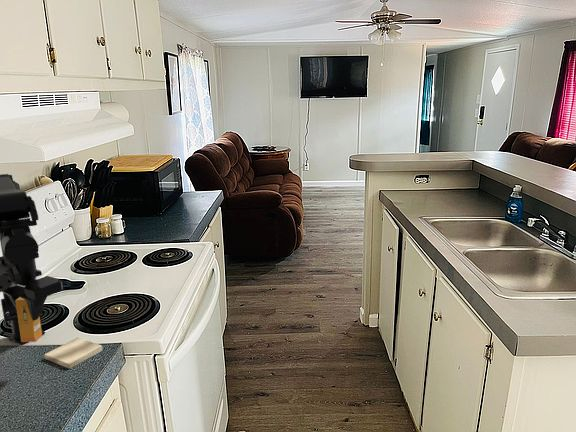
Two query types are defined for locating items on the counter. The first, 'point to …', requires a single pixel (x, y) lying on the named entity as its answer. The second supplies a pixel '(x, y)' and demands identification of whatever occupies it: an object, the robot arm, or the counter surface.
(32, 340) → the supplement box
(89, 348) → the birch board
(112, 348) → the counter surface
